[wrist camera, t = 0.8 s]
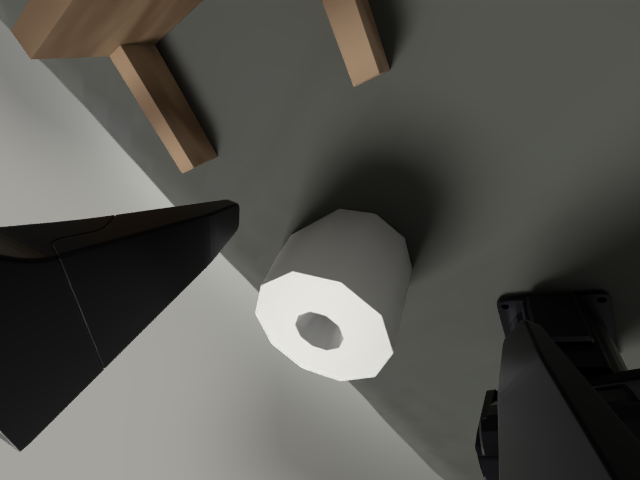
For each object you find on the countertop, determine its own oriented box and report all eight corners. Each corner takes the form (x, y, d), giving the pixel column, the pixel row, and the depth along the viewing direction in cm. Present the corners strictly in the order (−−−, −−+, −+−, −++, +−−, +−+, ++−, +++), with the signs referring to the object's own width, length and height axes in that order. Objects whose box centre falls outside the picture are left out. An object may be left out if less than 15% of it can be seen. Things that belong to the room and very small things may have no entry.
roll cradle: (390, 70, 18) (352, 84, 12) (206, 162, 27) (129, 198, 21) (317, -159, 15) (208, -309, 8) (132, 33, 23) (10, 30, 17)
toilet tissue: (261, 250, 30) (203, 310, 24) (373, 189, 23) (335, 252, 16) (314, 317, 32) (275, 389, 26) (433, 282, 25) (421, 371, 18)
